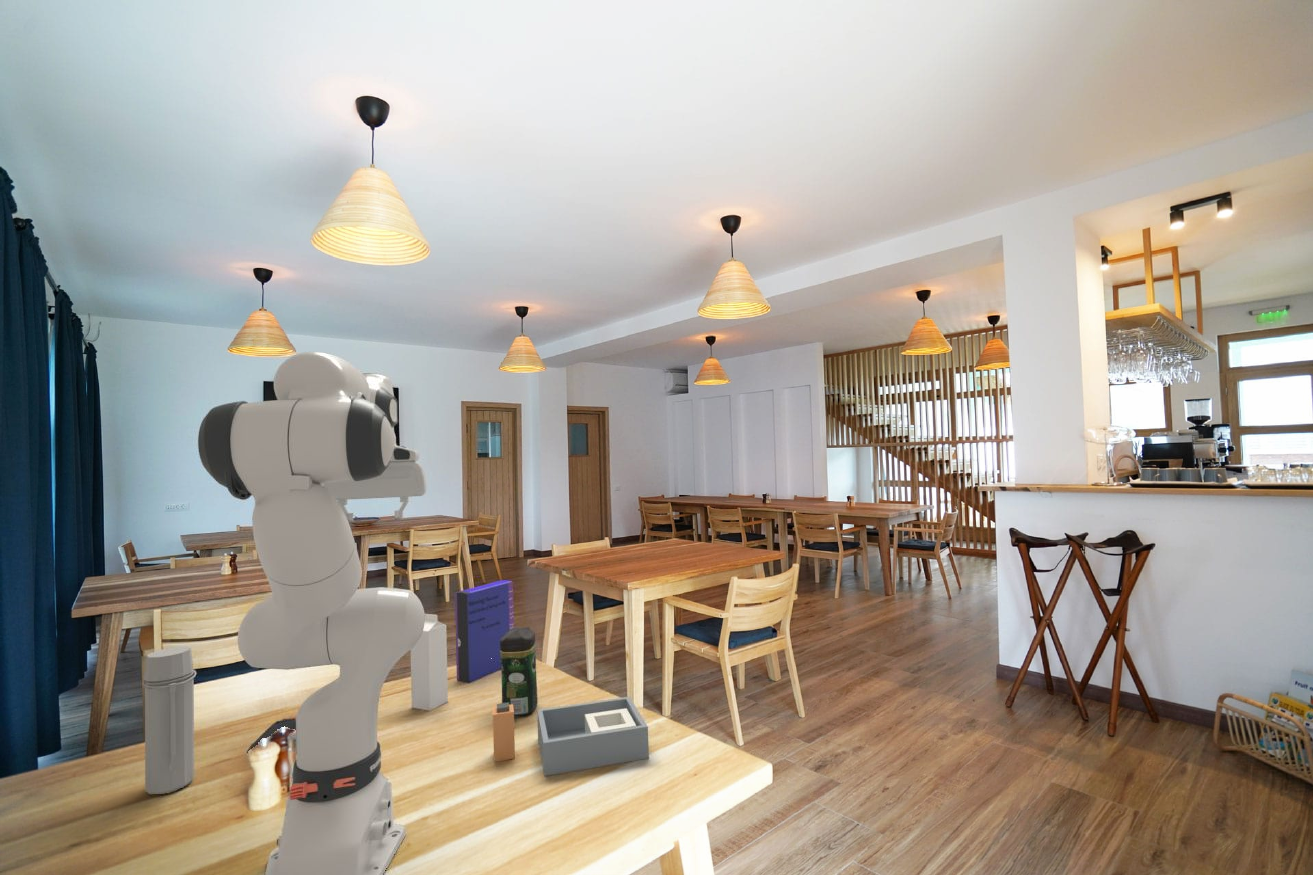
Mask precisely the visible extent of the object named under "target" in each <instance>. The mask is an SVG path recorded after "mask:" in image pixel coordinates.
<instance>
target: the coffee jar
mask: <svg viewBox="0 0 1313 875" xmlns="http://www.w3.org/2000/svg"><path fill="white" fill-rule="evenodd" d="M536 651H537V650H536V635H535V631H533V630H532V629H531V628H529V627H527V626H526V627H514V628H513V629H512V630H510V631H509V632H507V633H506V634H505V635H504V636H503V637H502V638H501V640H500V655H501V672H500V674H501V703H508V702H509V705H511V704H513V709H514V718H515V717H517V718H519V717H522V716H525V715H530V714H532V713H533V712H534V711H535V709H536V707H537V706H538V684H537V683H538V682H537V680H538V679H537V660H536V659H537V658H536V654H537V653H536Z"/></svg>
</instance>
